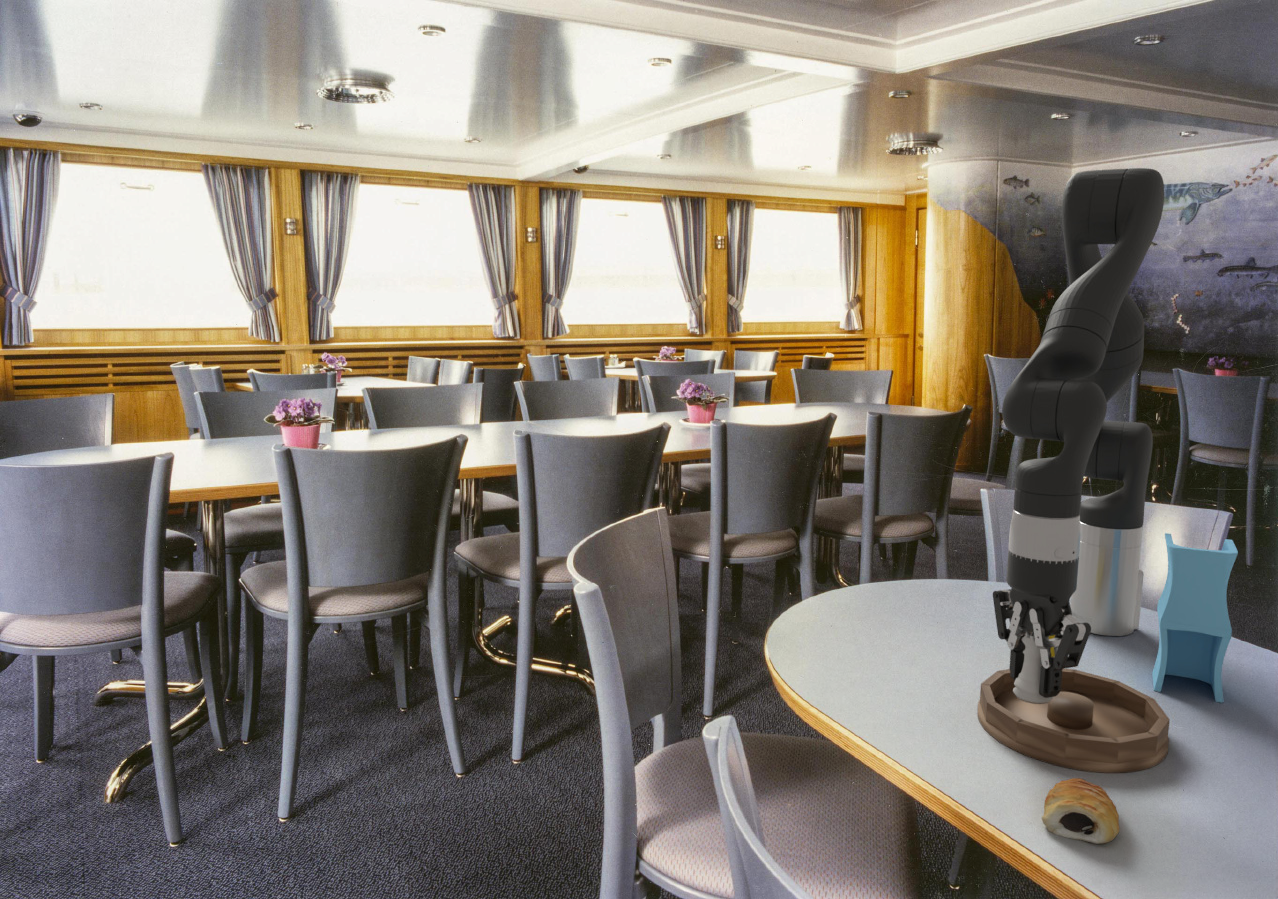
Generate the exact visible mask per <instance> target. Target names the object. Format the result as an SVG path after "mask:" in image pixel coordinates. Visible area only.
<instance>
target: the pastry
mask: <svg viewBox="0 0 1278 899" xmlns="http://www.w3.org/2000/svg"><path fill="white" fill-rule="evenodd" d="M1119 816H1120V815H1119V812H1118V811H1117V806H1116V805H1115V804H1114V802H1113V800H1112V799H1111V798H1110V796H1109V795H1108V793H1107V792H1106V790H1104V788H1103V787H1101V786H1100V785H1097V784H1094V783H1092V782H1089V781H1087V780H1085V779H1083V778H1080V777H1079V778H1078V777H1077V778H1076V777H1074V778H1070V779H1066V780H1060V781H1059V782H1057V783H1055V784H1054V786H1053V787H1052V788H1051V789H1050V790H1049V791H1048V792H1047V794H1046V796H1045V799H1044V805H1043V816H1042V817H1041V822H1042V824H1043V825H1044V826H1045V828H1046V829H1047V831H1048V832H1050V833H1054V834H1055V835H1057V836H1060V837H1063V838H1066V839H1072V840H1077V841H1078V840H1079V841H1084V842H1087V843H1091V844H1099V845H1101V844H1107V843H1110V842H1112V841H1113V840H1115V838H1116V837H1117V836H1118V834H1119V833H1120V823H1119V822H1120V821H1119Z"/></svg>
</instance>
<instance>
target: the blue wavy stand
mask: <svg viewBox="0 0 1278 899" xmlns="http://www.w3.org/2000/svg"><path fill="white" fill-rule="evenodd" d="M1164 539H1165V544H1166V545H1165V546H1166V553H1167V576H1166V580H1165V584H1164V587H1163V590H1162V592H1161V595H1160V597H1159V599H1158V600H1157V601H1158V602H1157V607H1156V609H1157V610H1156V611H1157V617H1158V618H1157V619H1158V629H1159V630H1158V631H1159V632H1158V633H1159V634H1158V635H1159V639H1158V641H1159V643H1158V644H1159V645H1158V649H1157V650H1158V651H1157V656H1156V659H1155V663H1154V666H1153V669H1152V674H1151V675H1152V683H1153V684H1152V687H1153V691H1155V692H1157V693H1158V692H1159V693H1161V691H1162V688H1163V684H1164V679H1165V675H1167V676H1168V675H1169V676H1175V677H1182V678H1187V679H1188V678H1189V679H1192V680H1193V679H1195V680H1199V681H1202V682H1204V683H1207V684H1208V685H1211V688H1212V692H1213V697H1214V700H1215V702H1216V703H1224V702H1225V701H1224V695H1223V694H1224V692H1223V684H1222V682H1223V681H1222V679H1223V678H1222V674H1223V665H1224V660H1225V657H1226V653H1227V650H1228V647H1229V644H1230V642H1231V639H1232V634H1233V628H1232V625H1231V621H1230V617H1229V616H1230V615H1229V611H1228V603H1227V591H1228V590H1227V589H1228V584H1229V579H1230V575H1231V573H1232V572H1231V571H1232V569H1233V567H1234V563H1235V561H1236V559H1237V557H1238V554H1239V552H1238V549H1237V547H1236V545H1235V543H1234V540H1233V539H1229V538H1228V539H1227V538H1226V539H1224V540H1223V541H1224V542H1223V545H1222V548H1221V550H1218V549H1217V550H1215V549H1207V548H1206V549H1204V548H1196V547H1195V548H1194V547H1188V546H1187V547H1186V546H1182V545H1178V544H1174V542H1173V537H1172V533H1168V532H1167V533H1166V532H1165V533H1164Z"/></svg>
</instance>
